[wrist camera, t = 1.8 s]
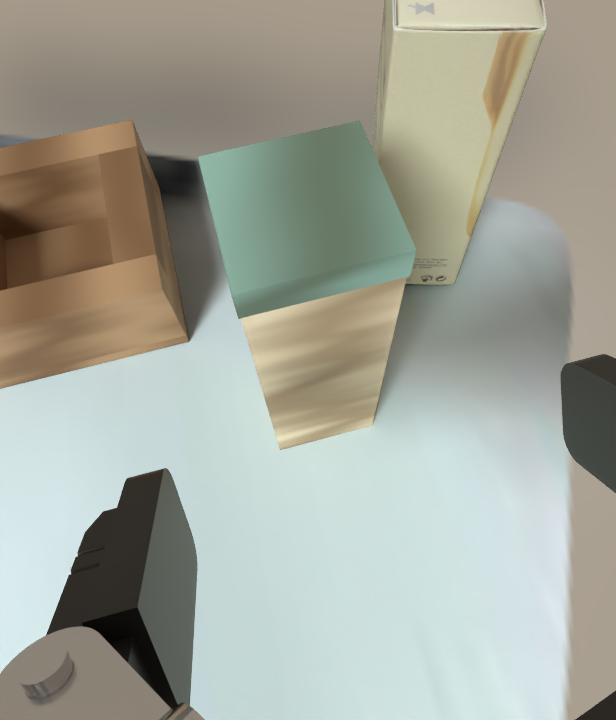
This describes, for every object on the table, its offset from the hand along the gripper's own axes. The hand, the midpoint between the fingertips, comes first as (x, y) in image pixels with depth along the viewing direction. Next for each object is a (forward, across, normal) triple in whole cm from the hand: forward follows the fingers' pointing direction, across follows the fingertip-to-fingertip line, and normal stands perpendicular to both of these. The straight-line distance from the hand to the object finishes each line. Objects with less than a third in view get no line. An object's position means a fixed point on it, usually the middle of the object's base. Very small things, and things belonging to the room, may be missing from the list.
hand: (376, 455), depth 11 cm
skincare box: (+17, -7, -1) cm, 19 cm away
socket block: (+18, +10, -2) cm, 21 cm away
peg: (+12, 0, +4) cm, 13 cm away
